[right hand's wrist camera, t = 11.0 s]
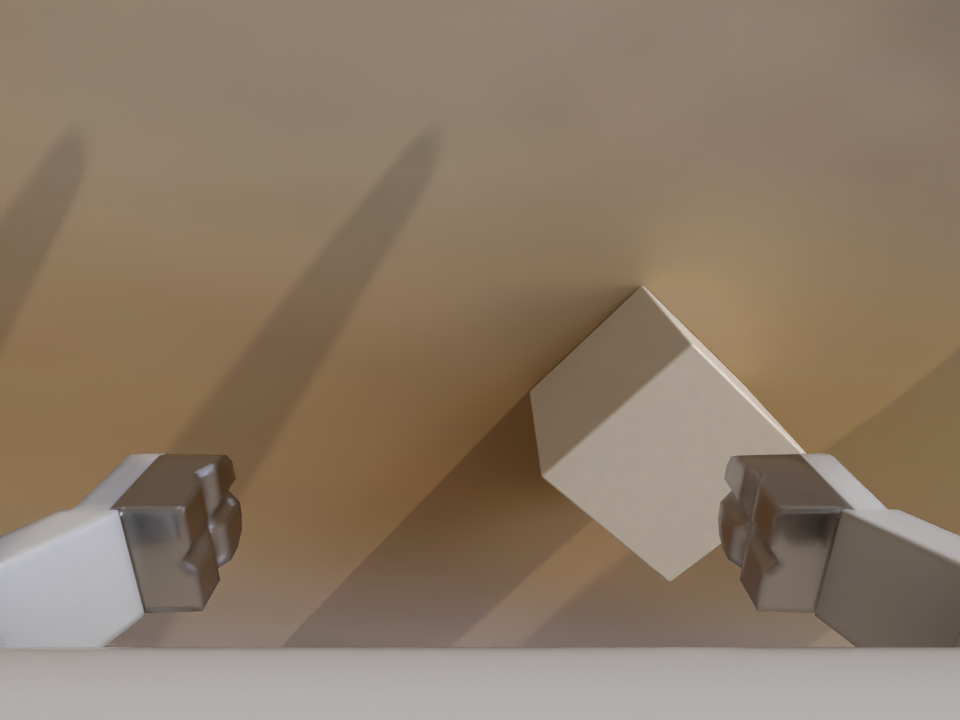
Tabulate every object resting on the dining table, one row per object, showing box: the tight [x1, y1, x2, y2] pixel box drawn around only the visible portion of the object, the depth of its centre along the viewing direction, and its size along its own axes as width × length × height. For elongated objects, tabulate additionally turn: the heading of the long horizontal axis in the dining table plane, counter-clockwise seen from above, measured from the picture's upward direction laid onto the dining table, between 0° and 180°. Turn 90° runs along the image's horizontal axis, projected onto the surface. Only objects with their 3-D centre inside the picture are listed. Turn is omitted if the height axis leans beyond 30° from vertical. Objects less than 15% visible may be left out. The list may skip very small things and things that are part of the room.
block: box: [530, 286, 806, 582], centre depth 16 cm, size 4×4×5 cm
